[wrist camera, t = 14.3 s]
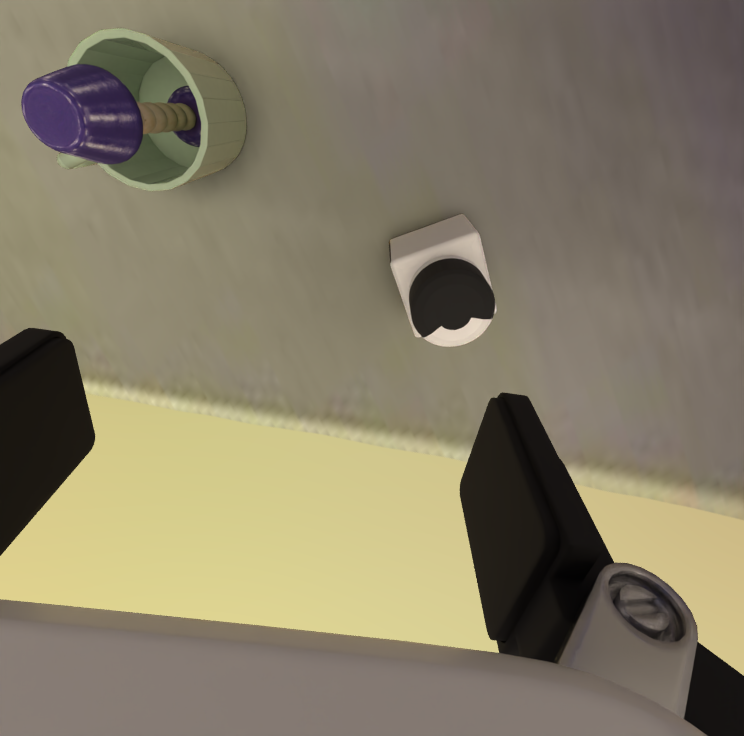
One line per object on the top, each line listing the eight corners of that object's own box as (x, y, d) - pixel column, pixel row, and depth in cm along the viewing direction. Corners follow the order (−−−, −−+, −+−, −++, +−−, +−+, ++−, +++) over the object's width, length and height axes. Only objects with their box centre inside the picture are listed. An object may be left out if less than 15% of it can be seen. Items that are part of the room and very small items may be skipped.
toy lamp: (172, 151, 36) (32, 178, 21) (151, 84, 33) (-22, 63, 19) (229, 143, 35) (125, 166, 21) (211, 75, 33) (80, 48, 19)
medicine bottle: (387, 239, 40) (390, 284, 29) (463, 211, 38) (494, 249, 28) (410, 307, 43) (420, 369, 33) (481, 284, 42) (514, 341, 31)
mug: (208, 26, 32) (151, -2, 24) (266, 148, 36) (233, 159, 28) (80, 98, 34) (-10, 94, 26) (147, 205, 38) (87, 229, 30)
